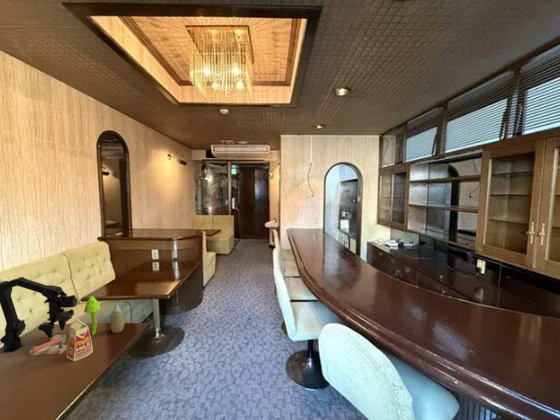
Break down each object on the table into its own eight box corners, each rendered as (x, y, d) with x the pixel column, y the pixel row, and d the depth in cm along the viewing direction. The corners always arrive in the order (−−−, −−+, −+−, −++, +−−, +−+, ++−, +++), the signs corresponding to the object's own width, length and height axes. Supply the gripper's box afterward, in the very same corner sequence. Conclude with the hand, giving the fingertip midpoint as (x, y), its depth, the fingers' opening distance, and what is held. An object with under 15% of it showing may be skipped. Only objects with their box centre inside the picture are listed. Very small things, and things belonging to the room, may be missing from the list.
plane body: (28, 355, 145) (28, 344, 144) (36, 350, 150) (35, 339, 149) (60, 353, 146) (59, 342, 146) (67, 348, 151) (66, 337, 151)
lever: (35, 352, 137) (35, 349, 137) (33, 351, 137) (32, 348, 137) (63, 339, 149) (63, 337, 149) (61, 339, 149) (61, 336, 149)
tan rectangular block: (50, 345, 154) (49, 339, 154) (56, 341, 159) (55, 335, 158) (61, 345, 155) (60, 338, 155) (66, 340, 159) (66, 334, 159)
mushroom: (81, 338, 162) (79, 298, 161) (92, 330, 170) (90, 293, 169) (95, 338, 162) (93, 298, 160) (104, 331, 170) (102, 293, 169)
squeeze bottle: (127, 328, 174) (126, 301, 173) (119, 334, 166) (117, 306, 165) (116, 327, 175) (115, 301, 174) (107, 333, 167) (105, 306, 166)
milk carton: (66, 357, 143) (64, 321, 142) (85, 348, 151) (83, 314, 150) (75, 362, 139) (73, 325, 137) (94, 352, 147) (92, 317, 146)
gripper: (58, 315, 147) (59, 342, 148) (80, 301, 166) (81, 325, 166) (36, 316, 146) (38, 343, 147) (61, 302, 165) (62, 326, 165)
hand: (56, 334), depth 156 cm, fingers open, 9 cm apart
